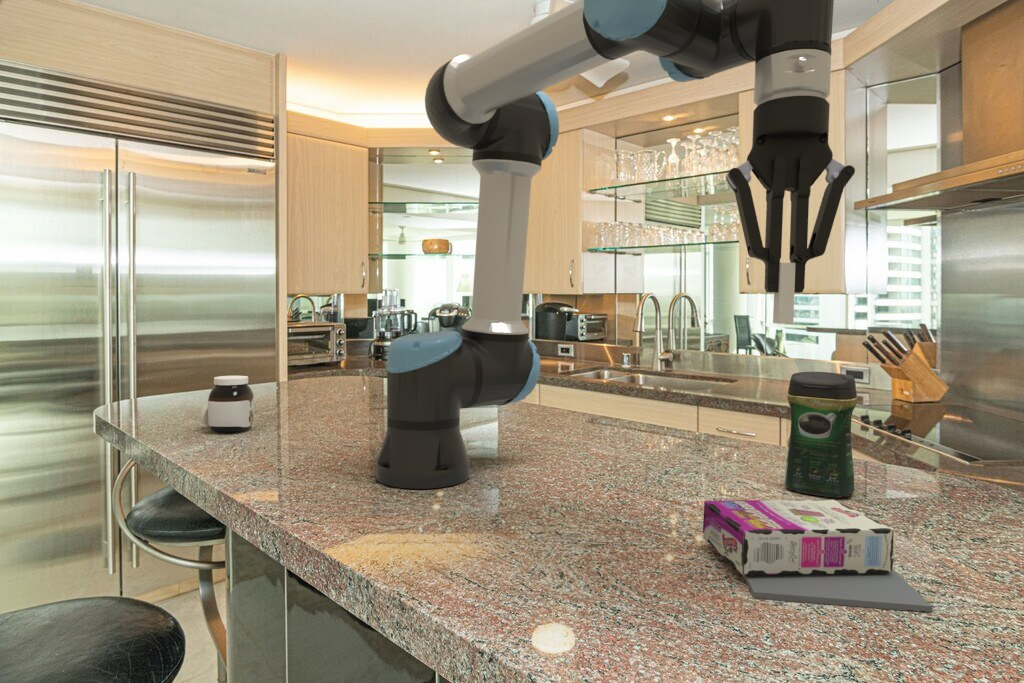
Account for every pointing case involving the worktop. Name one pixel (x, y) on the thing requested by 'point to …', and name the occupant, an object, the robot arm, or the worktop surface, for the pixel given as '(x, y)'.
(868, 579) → the mat
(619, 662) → the worktop surface
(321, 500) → the worktop surface
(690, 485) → the worktop surface
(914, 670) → the worktop surface
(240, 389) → the spread jar
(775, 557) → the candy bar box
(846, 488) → the coffee jar
